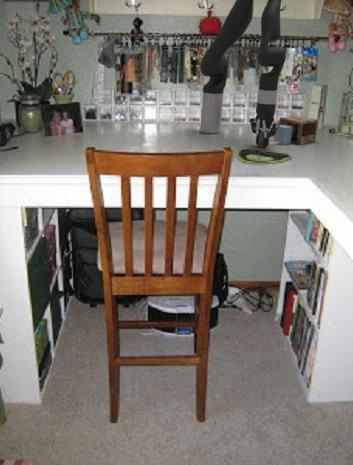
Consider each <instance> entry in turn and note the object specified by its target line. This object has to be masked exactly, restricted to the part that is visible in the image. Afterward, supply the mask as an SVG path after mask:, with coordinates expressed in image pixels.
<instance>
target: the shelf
mask: <svg viewBox="0 0 353 465" xmlns="http://www.w3.org/2000/svg"><path fill="white" fill-rule="evenodd" d="M278 121H279V122H278V123H279V124H280V125H287V126H291V127H293V129H292V137H291V139H296V143H295V144H296V145H297V146H301V145H305V144H310V143H315V142H316V139H317V138H316V137H317V133H318V125H319V121H318V119H317V118H311V117H306V116H300V115H290V116H282V117H279V120H278Z"/></svg>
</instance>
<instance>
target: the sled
mask: <svg viewBox="0 0 353 465" xmlns="http://www.w3.org/2000/svg"><path fill="white" fill-rule="evenodd" d="M292 129H293V127H291V126H287V125H279V127H278V129H277V131H276V133H275V135H274V136H273V137H274V138H273V141H272V142H269V145H268V146H267V147H270V146H271V147H272V146H277V145H282V146H284V145H285V146H286V145H290V144H291V143H292V138H291V137H292ZM264 138H265V137H264V132H263V131H262V132H259V142H258V145H257V148H259V147H260V148H259V149H266V147H263V141H264Z"/></svg>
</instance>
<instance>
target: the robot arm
mask: <svg viewBox="0 0 353 465" xmlns="http://www.w3.org/2000/svg"><path fill="white" fill-rule="evenodd" d="M254 1H255V0H235V2H234V4H232V5H233V6H232V7H231V9H230V10H229V12H228V14H227V16H226V18H225V20H224V22H223V24H222V25H221V28H219V31H218V33H217V35H216V36H215V37H214V40H213V42H212V43H211V44H210V46H209V47H208V49H207V50H206V52H205V53H204V54H203V56H202V58H201V60H200V65H199V69H200V73H201V74H202V75H203V76H204V77H208V78H209V80H208V81H207V82H206V83H205V84H204V85H203V86H202V98H201V99H202V100H201V111H200V112H201V114H200V128H199V129H200V130H199V131H200V133H203V134H219V133H221V132H222V118H223V105H224V104H223V103H224V92H225V88H226V86H227V85H226V84H227V79H228V68H229V63H228V59H227V57H226V56H225V53H226V52H227V51H228V50H229V49H230V48H231V47H232V46H233V45H234V44H235V43H236V42H237V41H239V40H240V39H241V38H242V37H243V36H244V34H245V32H246V31H247V29H248V27H249V25H251V22H252V20H253V15H254ZM281 4H282V0H267V2H266V4H265V7H264V8H263V10H262V14H261V17H260V18H261V19H260V28H261V29H260V30H261V31H260V32H261V34H260V42H259V47H258V51H257V55H256V61H257V63H258V65H259V67H264V68H266V67H269V68H270V67H271V68H272V69H271V70H270V71H268V72H264V73H262V74H260V76H259V84H258V91H257V97H256V104H255V114H256V115H255V117H252V118H250V119H249V122H250V127H251V133H252V134H255V145H256V146H258V142H259V132H264V137H265V138H264V141H263V147H265V148H267V147H269V146H268V145H269V143H270V138H271V137H274V136H275V133H276V131H277V129H278V127H279V125H280V124H279V122H276V121H275V115H276V111H277V109H276V108H277V101H278V100H277V99H278V87H279V86H278V85H279V79H280V75H281V73H282V70H283V69H284V66H285V65H284V64H285V63H286V58H287V53H286V49H285V48H283V47H282V46H269V43H274V42H277V41H278V40H279V39H280V38H281Z"/></svg>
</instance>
